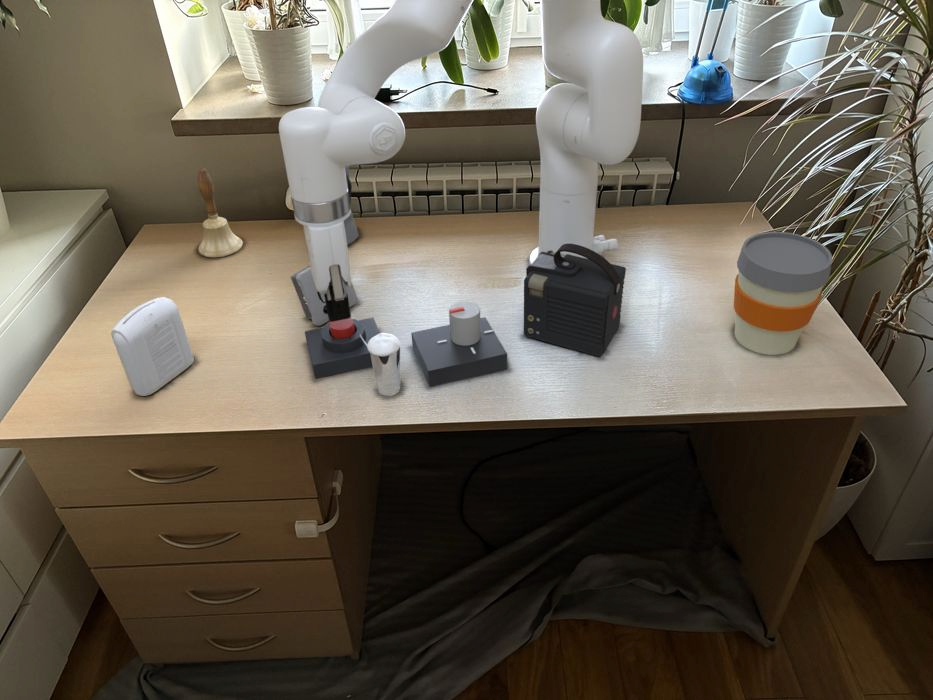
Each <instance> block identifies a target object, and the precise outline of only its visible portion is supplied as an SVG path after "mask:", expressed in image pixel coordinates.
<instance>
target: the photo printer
mask: <svg viewBox="0 0 933 700" xmlns="http://www.w3.org/2000/svg"><path fill="white" fill-rule="evenodd" d="M110 336H111V339H112V343H113V344H114V347H115V349H116V352H117V354H118V357H119V360H120V363H121V364H122V367H123V371H124V373H125V375H126V378H127V380H128V383H129V385H130V387H131V389H132V390H133V392H134V394H136V395H137V396H141V397H146V396H150V395H153V394H154V393H155V392H157V391H159V390H160V389H161V388H163V387H164V386H166V385H167V384H168V383H169V382H171V381H173V379H175V378H176V377H178V376H179V375H180V374H181V373H182V372H184V371H185V370H187V369H188V368H189V367H191V365H193V364H194V362H195V358H194V353H193V352H192V349H191V345H190V341H189V337H188V336H187V331H186V329H185V325H184V323H183V319H182V316H181V313H180V310H179V308H178V306H177V305H176V303H175V302H174V301H173V300H172V299H171V298H169V297H168V298H167V297H166V296H161V297H157V298H153V299H150V300H147V301H146V302H143V303H142V304H140V305H138V306H136V307H135V308H133V309H132V310H130V311H129V312H128V313H127V314H125V315H124V316H123V317H121V319H120V320H119V321H118V322H117V323H116V324H115V326H114V327H113V328H112V329H111V332H110Z"/></svg>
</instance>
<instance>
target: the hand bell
mask: <svg viewBox="0 0 933 700" xmlns="http://www.w3.org/2000/svg"><path fill="white" fill-rule="evenodd" d="M197 171H198V172H197V173H198V174H197V186H198V190H199V193H200V195H201V197H202V198H203V200H204V203H205V206H206V210H207V216H208V218H207V219H205V220H204V221H203V222H202V229H203V231H202V232H203V237H202V241H201V242H200V244H199V246H198V253H199V254H200V255H202V256H203V257H206V258H224V257H227V256H230V255H233V254H235V253H237V252H238V251H240V250H241V249H242V247H243V244H244V241H243V239H241V238H240V237H239V236H238V235H236V234H234V232H233V231H232V229H231V228H230V225H229V223H228V220H227V219H226V218H225V217H222V216H219V215H218V210H217V206H216V203H215V187H214V182H213V179H212V177H211V175H210V174H209V173H208V171H207V168H205V167H200V168H198V169H197Z"/></svg>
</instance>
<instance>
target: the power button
mask: <svg viewBox="0 0 933 700" xmlns="http://www.w3.org/2000/svg"><path fill="white" fill-rule="evenodd" d="M353 319H354V318H352V317H350V318H349V319H343V320H338V321H333V322H331V321H329V323H330V324H329V325H330V331H331V335H332V337H334V338H337V339H344V338H349V337H351V336H352V335H354V333H355V327H354V321H353Z"/></svg>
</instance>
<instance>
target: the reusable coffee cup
mask: <svg viewBox="0 0 933 700" xmlns="http://www.w3.org/2000/svg"><path fill="white" fill-rule="evenodd" d="M832 264H833V254H832V253H831V251H830V249H828V248H827V247H826V246H825V245H824V244H822V243H821V242H819V241H817V240H815V239H813V238H811V237H808V236H805V235H801V234H798V233H792V232H788V231H787V232H786V231H785V232H784V231H769V232H768V231H767V232H761V233H755V234H753V235H751V236H750V237H748V238H747V239H745V241H744V242H743V244H742V247H741V249H740V252H739V255H738V258H737V261H736V267H737V270H738V273H737V274H736V275H735V276H736V277H735V279H734V292H733V310H734V313H735V323H734V337H735V339H736V341H737V342H738V344H740V345H741V346H743V347H744V348H745V349H747V350H749V351H751V352H755V353H757V354H761V355H766V356H767V355H769V356H771V355H772V356H777V355H778V356H779V355H783V354H784V355H785V354H786V353H790V352H791V351H793V349H794V348H795V346H796V345H797V343H798V340H799V338H800V336H801V334H802V332H803V330H804V328H805V327H806V326H807V325H809V323H810V322H811V320H812V318H813V316H814V314H815V311H816V309H817V307H818V306H819V303H820V301H821V299H822V296H823V288H824V286H825V285H826V284H827V283H828V282H829V281H830V276H831V270H832Z"/></svg>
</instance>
